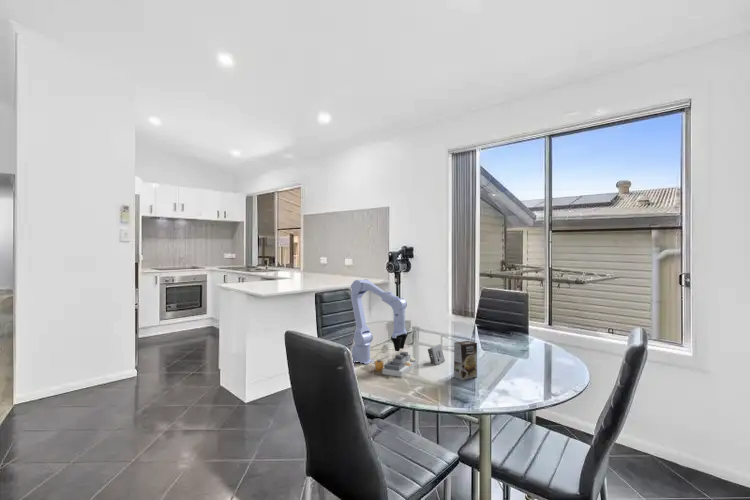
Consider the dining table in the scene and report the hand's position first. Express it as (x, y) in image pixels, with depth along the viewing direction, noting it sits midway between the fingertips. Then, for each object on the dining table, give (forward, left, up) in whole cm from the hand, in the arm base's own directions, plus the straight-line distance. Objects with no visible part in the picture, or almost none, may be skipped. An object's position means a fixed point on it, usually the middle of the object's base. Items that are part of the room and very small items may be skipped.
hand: (399, 349), depth 185 cm
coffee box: (+33, +1, -10) cm, 34 cm away
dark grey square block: (0, 0, -5) cm, 5 cm away
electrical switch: (+14, +18, -10) cm, 25 cm away
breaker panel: (+1, -1, -9) cm, 10 cm away
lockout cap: (-8, -7, -10) cm, 14 cm away
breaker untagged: (0, +7, -5) cm, 8 cm away
